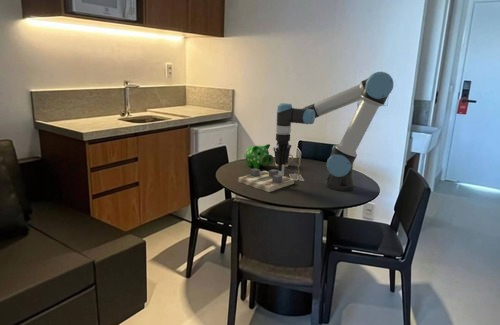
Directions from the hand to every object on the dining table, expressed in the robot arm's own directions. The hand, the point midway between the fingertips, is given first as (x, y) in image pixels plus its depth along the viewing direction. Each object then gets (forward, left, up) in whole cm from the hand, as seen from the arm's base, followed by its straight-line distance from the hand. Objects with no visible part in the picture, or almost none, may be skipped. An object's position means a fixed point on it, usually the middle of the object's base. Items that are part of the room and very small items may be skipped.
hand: (281, 176), depth 200 cm
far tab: (+16, +3, -3) cm, 17 cm away
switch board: (+8, +2, -5) cm, 10 cm away
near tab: (0, +3, -3) cm, 4 cm away
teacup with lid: (+24, -35, -6) cm, 43 cm away
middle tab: (+8, -4, -3) cm, 9 cm away
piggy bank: (+33, -19, -6) cm, 39 cm away
